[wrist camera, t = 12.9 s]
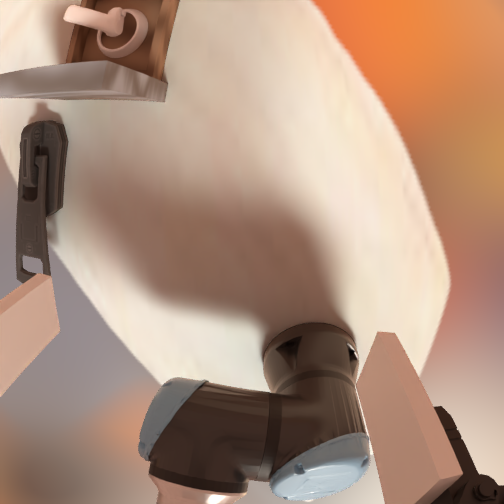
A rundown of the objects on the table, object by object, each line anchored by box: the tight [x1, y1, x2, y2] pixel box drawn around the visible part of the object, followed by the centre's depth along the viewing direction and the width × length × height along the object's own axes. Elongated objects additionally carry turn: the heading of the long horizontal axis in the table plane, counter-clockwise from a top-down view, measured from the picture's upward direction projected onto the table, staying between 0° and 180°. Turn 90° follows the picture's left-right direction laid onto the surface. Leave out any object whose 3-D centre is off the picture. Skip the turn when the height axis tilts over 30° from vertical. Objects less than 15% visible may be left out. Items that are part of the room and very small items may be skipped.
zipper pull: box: [16, 121, 68, 283], centre depth 39 cm, size 9×7×25 cm
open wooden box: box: [0, 0, 180, 102], centre depth 25 cm, size 17×16×16 cm
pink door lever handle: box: [63, 5, 148, 58], centre depth 29 cm, size 8×12×7 cm
